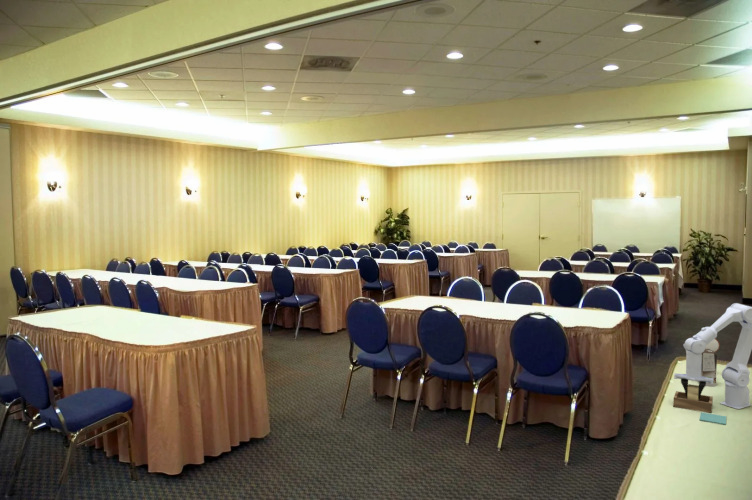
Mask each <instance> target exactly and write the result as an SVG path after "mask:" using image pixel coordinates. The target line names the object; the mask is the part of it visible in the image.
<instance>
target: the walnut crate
mask: <svg viewBox="0 0 752 500" xmlns="http://www.w3.org/2000/svg"><path fill="white" fill-rule="evenodd" d="M713 397H714V396H710V395H705V394H701V397H700V399H699V400H698V401H696V400H689V399H687V397H686V394H685V391H678V390H676V391H675V393H674V395H673V402H672V403H673V404H672V405H673V408H678V409H685V410H691V411H696V412H703V413H709V414H712V411H713V403H714V402H713V400H714V398H713Z"/></svg>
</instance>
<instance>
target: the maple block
mask: <svg viewBox="0 0 752 500" xmlns="http://www.w3.org/2000/svg"><path fill="white" fill-rule="evenodd" d="M698 395H699V384H690V383H688V395H687V399H689V400H696V401H698V400H699V399H698Z"/></svg>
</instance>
